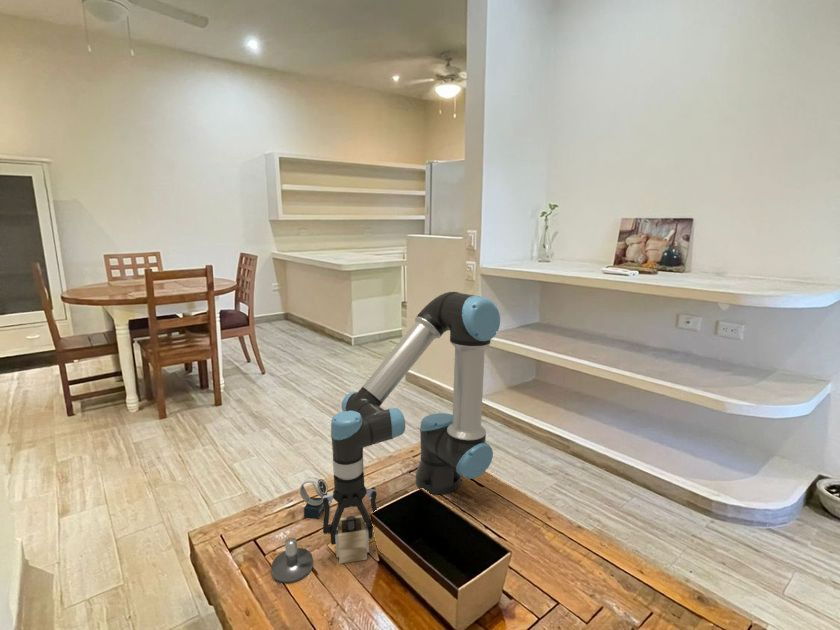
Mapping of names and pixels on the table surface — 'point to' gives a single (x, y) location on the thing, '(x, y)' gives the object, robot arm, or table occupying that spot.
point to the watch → (314, 504)
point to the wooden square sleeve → (352, 541)
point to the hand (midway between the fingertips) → (352, 551)
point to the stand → (350, 524)
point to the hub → (292, 563)
